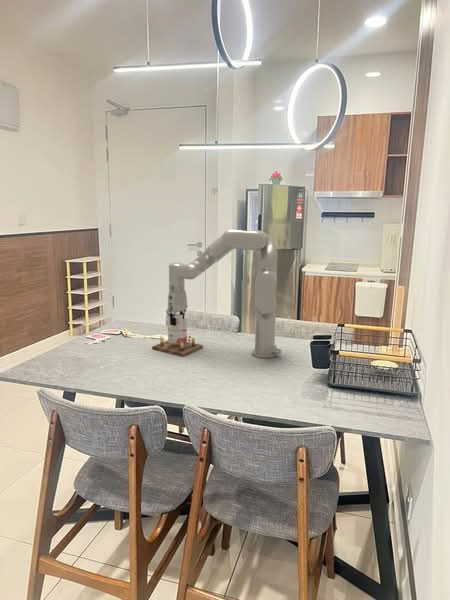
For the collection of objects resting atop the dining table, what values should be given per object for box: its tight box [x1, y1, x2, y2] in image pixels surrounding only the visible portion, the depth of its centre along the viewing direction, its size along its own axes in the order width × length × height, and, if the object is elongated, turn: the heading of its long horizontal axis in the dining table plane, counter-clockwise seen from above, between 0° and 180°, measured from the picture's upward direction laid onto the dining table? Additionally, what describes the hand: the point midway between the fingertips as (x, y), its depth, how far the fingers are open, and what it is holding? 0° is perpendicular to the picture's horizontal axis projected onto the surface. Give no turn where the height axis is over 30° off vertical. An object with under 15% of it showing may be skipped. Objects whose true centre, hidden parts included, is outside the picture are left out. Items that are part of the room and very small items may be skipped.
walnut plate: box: [151, 340, 204, 358], centre depth 215 cm, size 20×16×2 cm
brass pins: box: [159, 337, 196, 351], centre depth 215 cm, size 15×11×4 cm
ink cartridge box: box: [167, 313, 188, 343], centre depth 213 cm, size 9×5×15 cm, turn 73°
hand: (177, 323), depth 213 cm, fingers closed on ink cartridge box, 5 cm apart
